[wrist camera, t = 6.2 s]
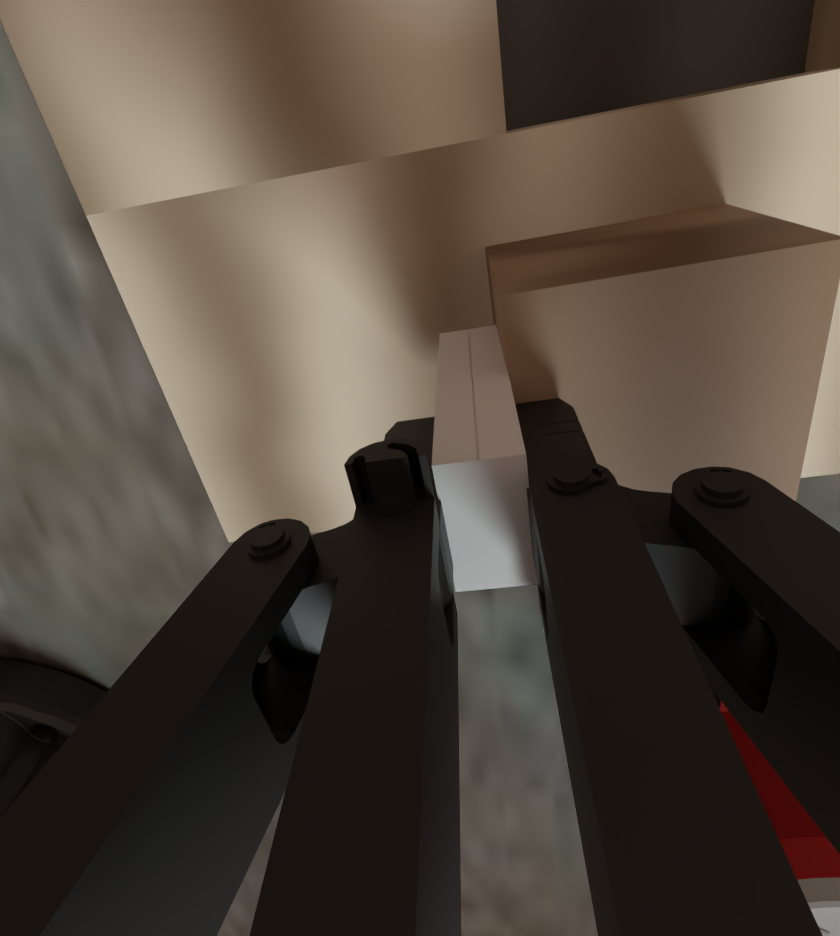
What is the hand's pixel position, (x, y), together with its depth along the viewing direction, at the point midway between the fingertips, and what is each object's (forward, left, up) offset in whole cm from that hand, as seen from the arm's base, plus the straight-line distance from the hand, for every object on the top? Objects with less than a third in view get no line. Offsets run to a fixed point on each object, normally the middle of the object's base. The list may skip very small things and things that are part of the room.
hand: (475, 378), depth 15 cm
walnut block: (+4, 0, -2) cm, 4 cm away
